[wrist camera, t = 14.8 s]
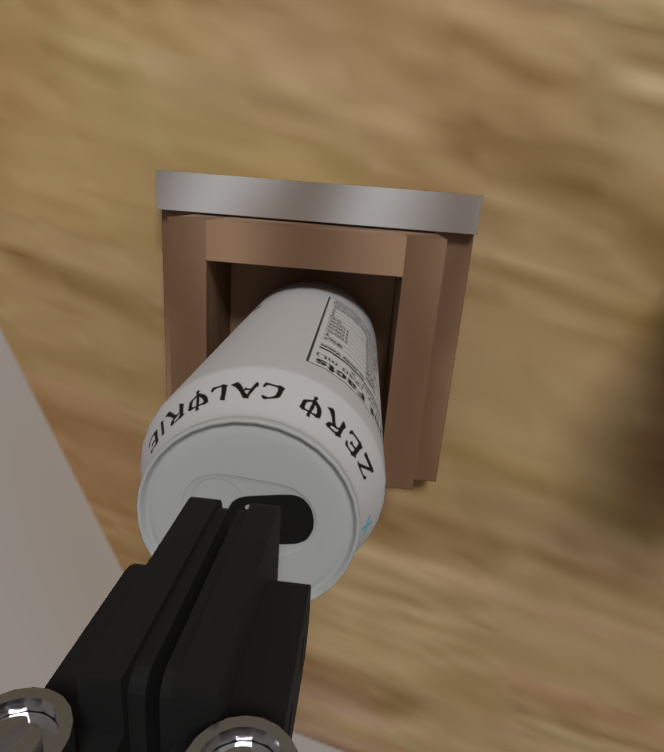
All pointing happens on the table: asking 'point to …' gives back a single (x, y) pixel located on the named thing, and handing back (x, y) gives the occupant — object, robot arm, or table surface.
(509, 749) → the table surface
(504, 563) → the table surface
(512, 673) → the table surface
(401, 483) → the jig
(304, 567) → the energy drink can
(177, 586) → the robot arm
